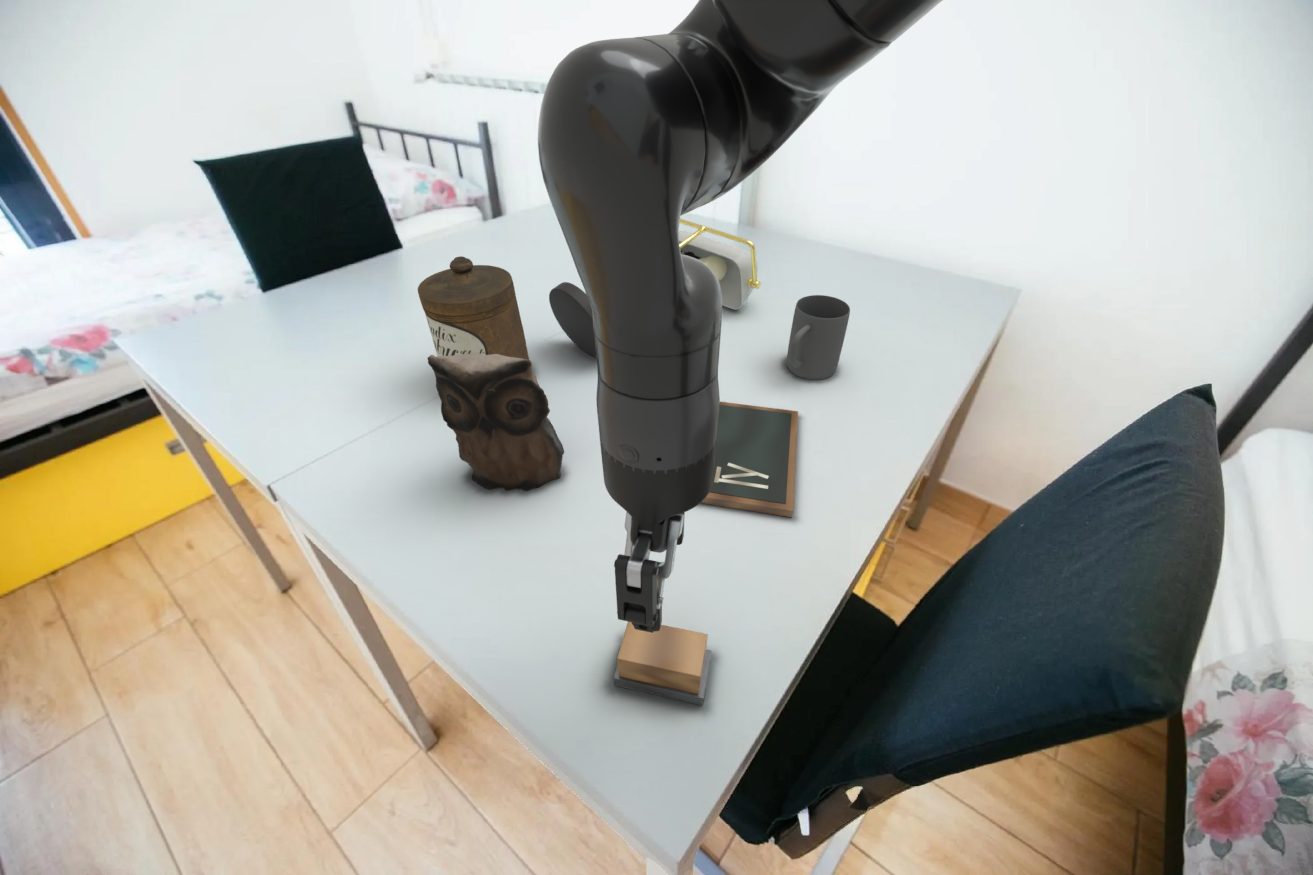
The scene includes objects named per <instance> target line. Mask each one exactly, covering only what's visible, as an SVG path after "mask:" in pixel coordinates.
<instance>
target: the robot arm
mask: <svg viewBox="0 0 1313 875" xmlns="http://www.w3.org/2000/svg"><path fill="white" fill-rule="evenodd" d="M942 1H943V0H698V1H697V3H696V4H695V5H694V6H693V8H692V10H690V12H689V13H688V14H687V15H686V17H685V18H684V19H683V20H682V21H681V22H680V23H679V24H677V25H676V27H675V28H674V29H672V30H671V31H670V32H668V33H662V34H661V33H660V34H653V35H644V36H635V37H621V38H609V39H602V40H595V41H590V42H588V43H586V44H583V45H581V46H579V47H576V48H575V49H573V50H571V51H570V52H569V53H568V54H567V55H566V56H565V57H563V59H562V60H560V61H559V63H558V64H557V65H556V67H555V68H554V70H553V72H552V74H551V75H550V77H549V79H548V82H547V84H546V86H545V90H544V92H543V96H542V101H541V105H540V110H539V116H538V122H537V124H538V126H537V149H538V160H539V166H540V170H541V176H542V180H543V184H544V186H545V190H546V193H547V196H548V198H549V202H550V205H551V207H552V209H553V211H554V214H555V216H556V219H557V222H558V224H559V227H560V229H561V232H562V235H563V237H564V239H565V243H566V245H567V248H568V250H569V252H570V255H571V258H572V261H573V264H574V266H575V270H576V271H577V275H578V277H579V279H580V281H581V284H582V286H583V287H582V288H583V290H584V292H585V293H586V294H587V297H588V299H589V302H590V305H591V308H592V312H593V327H594V336H595V346H596V356H595V357H596V367H597V384H596V399H595V400H596V413H597V415H596V416H597V424H598V425H597V426H598V432H599V444H600V455H601V464H602V474H603V483H604V487H605V489H606V491H607V493H608V494H609V496H610V497H611V499H612V500H613V501H614V502H615V503H616V504H617V505H618V506H620V507H621V509H624V511H625V512H626V513H625V521H624V529H625V531H626V539H625V546H624V553H623V554H618V555H617V557H616V559H615V560H614V563H613V567H614V578H615V579H614V580H615V596H616V614H617V620H618V621H619V620H620V621H623V622H627V623H628V622H632V625H633V626H634V628H635V629H637V630H641V631H646V632H651V633H653V632H654V631H659V630H660V627H661V625H662V622H663V603H664V596H663V595H664V588H665V580H666V579H668V578H669V577H670V576H671V574H672V573H673V571H674V566H675V559H676V552H677V546H680V545H682V544H683V541H684V537H685V513H686V512H688V511H691V510H692V509H695V508H696V507H697V506H699V505H700V504H702V503H701V502H702V501H703V500H704V499H705V498H706V496H707V495H708V494H709V492H710V490H711V488H712V485H713V480H714V469H715V457H716V444H717V430H718V419H719V407H720V402H721V396H720V384H719V364H720V363H719V362H720V350H721V337H722V336H721V334H722V325H723V324H722V321H723V305H722V293H721V288H720V284H719V281H718V278H717V277H716V275H715V273H714V272H713V271H712V270H711V269H710V268H709V267H708V266H707V265H706V264H705V263H703V262H701V261H700V260H698V259H696V258H693V257H690V256H687V255H683V254H681V251H680V245H679V231H680V223H679V221H680V219H681V217H682V216H683V215H685V214H688V213H690V212H692V211H694V210H696V209H698V208H700V207H703V206H705V205H707V204H710V203H711V202H713V201H716V200H717V199H720V197H721V198H722V197H723V196H724V195H726V194H727V193H728V192H730V191H731V190H733V189H734V188H735V187H737V186H738V185H740V184H741V183H742V182H743V181H745V180H746V179H747V178H748V177H749V176H751V175H752V174H753V173H754V172H755V171H757V170H758V169H759V168H761V166H762V165H763V164H765V163H766V162H767V161H768V160H769V159H770V158H771V157H772V156H774V154H776V152H777V151H778V150H779V149H780V148H781V147H782V146H783V145H784V144H785V143H786V142H787V141H788V140H789V139H790V138H791V137H792V136H793V135H794V134H795V132H797V130H798V129H799V128H800V127H802V126H803V124H804V123H805V122H806V121H807V120H808V119H809V118H810V117H811V116H812V114H814V112H815V111H816V110H817V109H818V108H819V107H820V106H821V104H823V103H824V101H825V100H826V99H827V97H828V96H829V95H830V94H831V93H832V92H833V90H834V89H835V88H836V87H837V86H838V85H839V84H840V83H842V82H843V81H844V80H846V79H847V78H848V77H850V76H851V75H852V74H854V73H855V72H856V71H858V70H859V69H861V68H862V67H863V66H865V65H867V64H868V63H869V62H870V61H872V60H873V59H874V58H876V57H877V56H878V55H879V54H881V53H882V52H883V51H884V50H886V49H887V48H888V47H890V45H891V44H892V43H893V42H895V41H896V40H898V39H899V38H900V37H901V36H902V35H903V34H905V33H906V32H907V31H908V30H910V28H912V27H913V26H914V25H915V24H917V23H918V22H919V21H920V20H921V19H923V17H925V16H926V15H927V14H928V13H930V12H931V11H932V10H933V9H934V8H936V7H937V5H939V4H940V3H942ZM651 552H653V553H657V554H658V553H659V554H661V553H664V552H665V556H664V557H665V558H664V561H658V560H652V559H650V554H651Z"/></svg>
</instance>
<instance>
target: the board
mask: <svg viewBox="0 0 1313 875" xmlns="http://www.w3.org/2000/svg"><path fill="white" fill-rule="evenodd" d="M798 419H799V411H797V410H790V409H782V408H774V407H766V406H758V405H750V404H744V403H743V404H742V403H734V402H726V401H720V407H719V419H718V430H717V444H716V457H715V469H714V480H713V485H712V488H711V490H710V492H709V494H708V495H707V496H706V498H705V499H704V500H703V501H702V502H701V503H700V504H707V505H710V506H711V505H712V506H717V507H718V506H720V507H725V508H729V509H730V508H731V509H735V510H744V511H749V512H755V513H761V514H769V515H775V516H781V517H786V518H792V517H793V514H794V504H795V503H794V502H795V501H794V500H795V484H796V483H795V481H796V463H797V462H796V460H797V440H798Z"/></svg>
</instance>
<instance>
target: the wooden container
mask: <svg viewBox="0 0 1313 875" xmlns="http://www.w3.org/2000/svg"><path fill="white" fill-rule="evenodd" d="M515 290H516V289H515V285H514V281H513V277H512V275H511V273H510V272H509V271H508V270H506V269H505V268H502V267H499V266H494V265H489V264H474V263H473V261H472V260H471V259H470V258H467V257H465V256H456V257H453V259H452V260H451V261H450V263H449V268H447V269H444V270H441V271H439V272H435V273H433V274H431V275H429V276H427V277H426V278H424V279H423V280H422V281H421V282H420V283H419V285H418V286H417V293H418V294H417V295H418V298H419V301H420V304H421V307H422V310H423V312H424V314H425V315H424V316H425V317H426V321H427V324H428V328H429V331H430V335H431V338H432V342H433V347H434V349H435V350H434V351H435V353H436V357H438V356H454V355H460V354H476V353H477V354H484V355H492V354H499V355H503V356H507V357H515V358H522V359H528V360H530V357H529V351H528V346H527V341H526V336H525V332H524V328H523V327H524V326H523V323H522V316H521V313H520V309H519V304H518V300H517V294H516V291H515ZM530 370H531V371H532V368H531V369H530Z"/></svg>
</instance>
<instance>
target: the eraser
mask: <svg viewBox="0 0 1313 875" xmlns="http://www.w3.org/2000/svg"><path fill="white" fill-rule="evenodd" d="M708 636H709V635H708V633H704V632H698V631H693V630H690V629H685V628H679V627H673V626H669V625H665V624H661V627H660V630H659V631H654V632H653V633H651V632H646V631H641V630H637V629H635V628H634V626H633V625H632V622H628V621H627V623H626V627H625V631H624V634H623V637H622V640H621V644H620V647H619V650H618V653H617V657H616V662H617V664H616V667H615V671H614V674H613V678H612V679H613V686H615V687H619V688H622V689H623V688H624V689H628V690H632V691H636V692H641V693H647V694H650V695H654V696H659V697H663V698H669V699H672V700H676V701H681V702H685V703H689V704H695V705H698V706H704V703H705V702H704V701H705V696H706V690H707V682H708V676H709V670H710V665H711V657H712V650H710V649H707V647H708V638H709V637H708Z"/></svg>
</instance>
